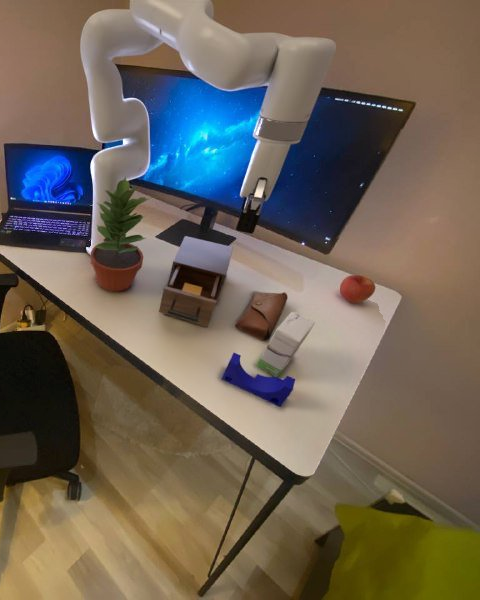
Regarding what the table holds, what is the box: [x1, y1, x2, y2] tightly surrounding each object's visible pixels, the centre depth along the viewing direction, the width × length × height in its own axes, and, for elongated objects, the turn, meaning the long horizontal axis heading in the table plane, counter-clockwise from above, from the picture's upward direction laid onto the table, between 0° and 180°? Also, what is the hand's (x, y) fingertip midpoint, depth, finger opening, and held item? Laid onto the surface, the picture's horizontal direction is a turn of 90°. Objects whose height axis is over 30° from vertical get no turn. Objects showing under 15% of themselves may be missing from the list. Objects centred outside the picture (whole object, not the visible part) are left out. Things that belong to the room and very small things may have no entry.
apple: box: [339, 274, 376, 304], centre depth 93 cm, size 7×7×8 cm
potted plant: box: [90, 176, 151, 292], centre depth 91 cm, size 15×15×30 cm
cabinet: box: [166, 235, 234, 301], centre depth 98 cm, size 15×14×10 cm
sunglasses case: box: [234, 291, 288, 342], centre depth 89 cm, size 18×7×7 cm
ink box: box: [256, 311, 316, 378], centre depth 75 cm, size 9×5×12 cm, turn 134°
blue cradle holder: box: [221, 352, 296, 408], centre depth 72 cm, size 12×4×6 cm, turn 56°
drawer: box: [158, 265, 220, 327], centre depth 88 cm, size 18×12×8 cm
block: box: [182, 283, 202, 296], centre depth 89 cm, size 4×4×4 cm
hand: (246, 220), depth 70 cm, fingers open, 9 cm apart
